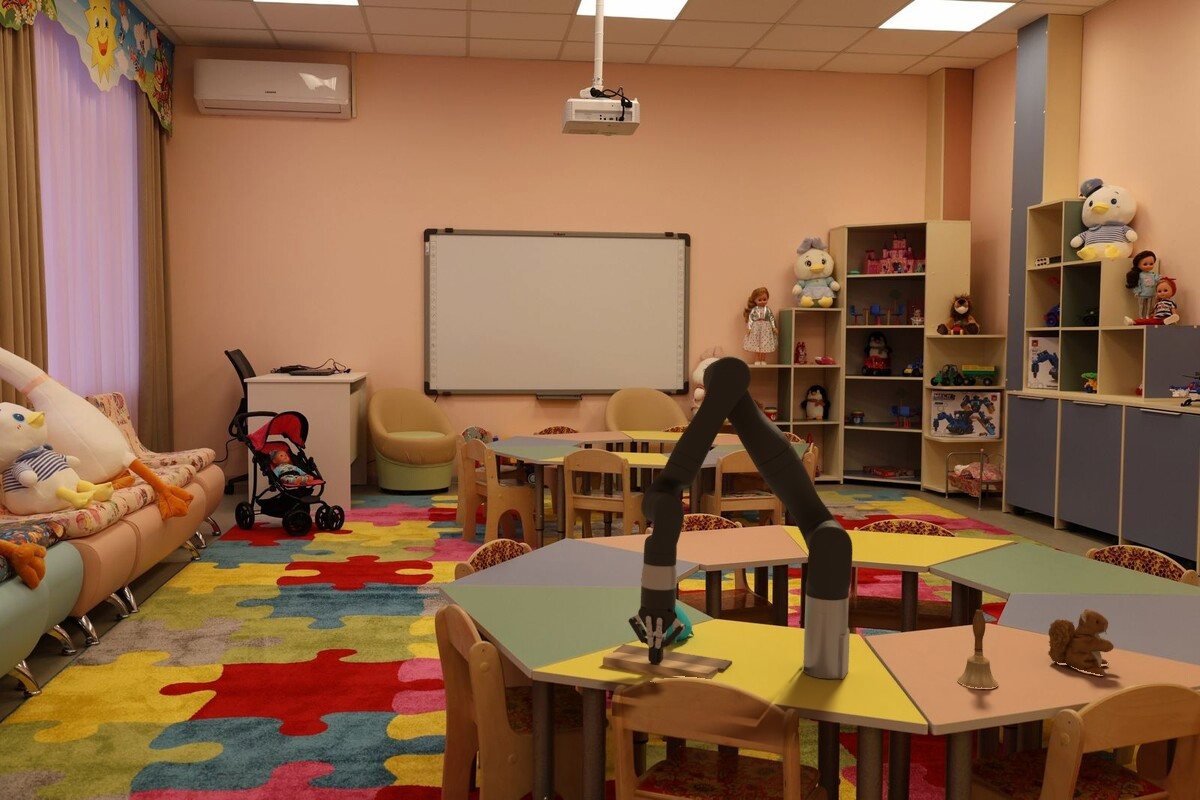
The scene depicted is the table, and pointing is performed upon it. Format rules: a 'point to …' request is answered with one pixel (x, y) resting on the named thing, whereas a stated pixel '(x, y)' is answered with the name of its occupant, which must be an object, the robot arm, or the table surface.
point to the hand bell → (978, 659)
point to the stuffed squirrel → (1080, 642)
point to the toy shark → (683, 619)
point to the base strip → (678, 657)
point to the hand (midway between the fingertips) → (655, 663)
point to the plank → (658, 666)
